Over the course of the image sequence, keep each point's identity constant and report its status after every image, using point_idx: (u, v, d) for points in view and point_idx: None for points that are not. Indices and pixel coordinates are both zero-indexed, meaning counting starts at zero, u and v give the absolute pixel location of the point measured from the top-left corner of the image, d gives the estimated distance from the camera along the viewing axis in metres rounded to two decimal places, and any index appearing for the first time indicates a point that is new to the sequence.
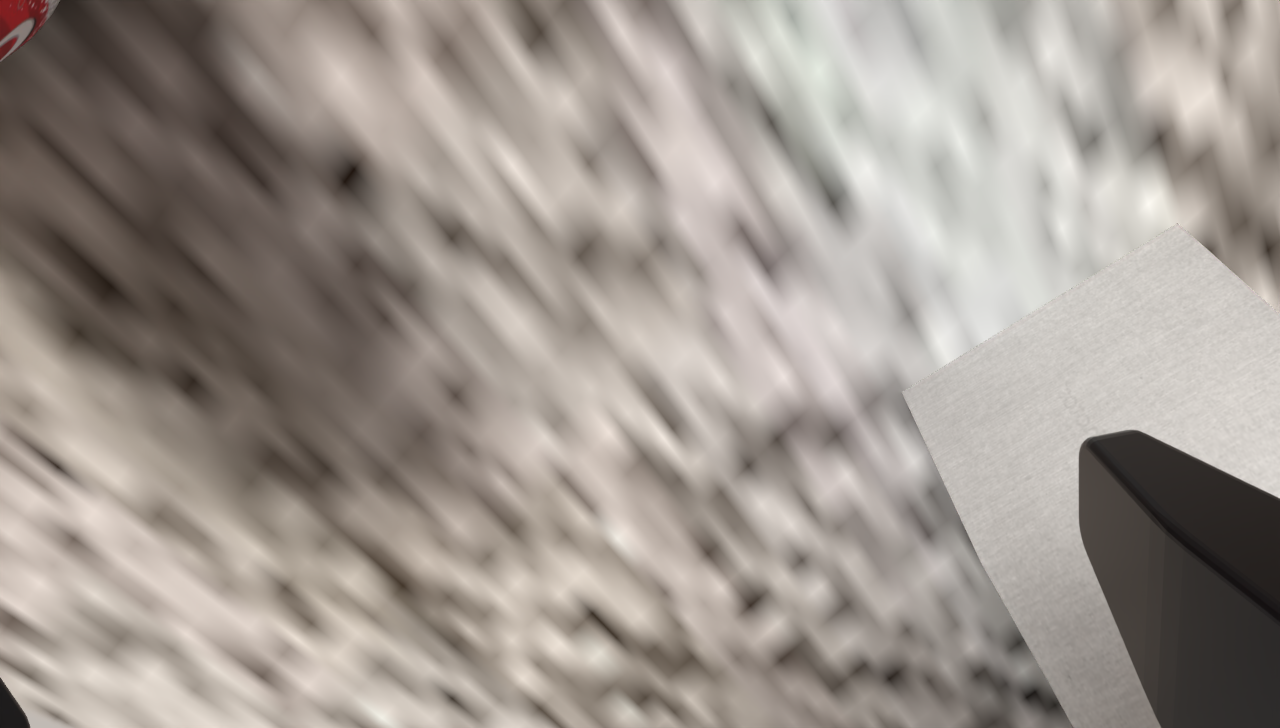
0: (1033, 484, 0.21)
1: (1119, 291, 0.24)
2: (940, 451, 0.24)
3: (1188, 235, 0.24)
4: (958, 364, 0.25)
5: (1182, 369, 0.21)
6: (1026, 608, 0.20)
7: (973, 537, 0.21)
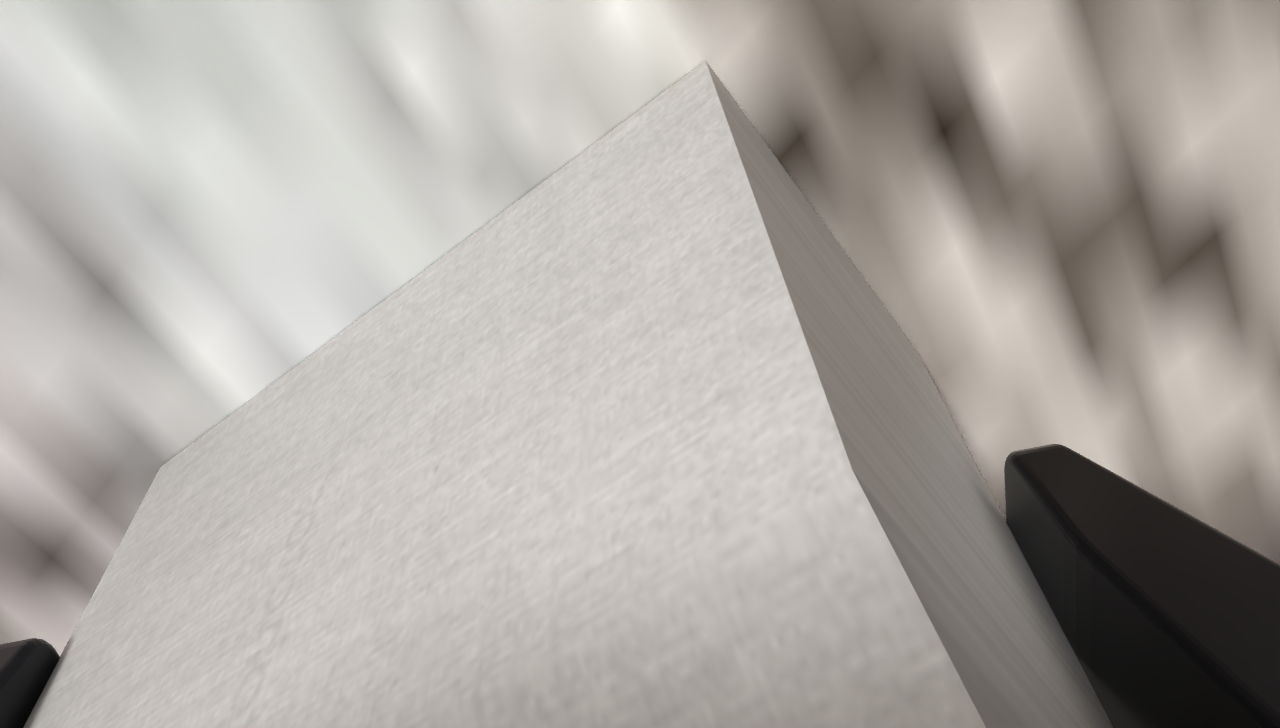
0: None
1: (538, 230, 0.09)
2: (79, 637, 0.09)
3: (708, 84, 0.09)
4: (252, 408, 0.11)
5: (512, 448, 0.07)
6: None
7: None
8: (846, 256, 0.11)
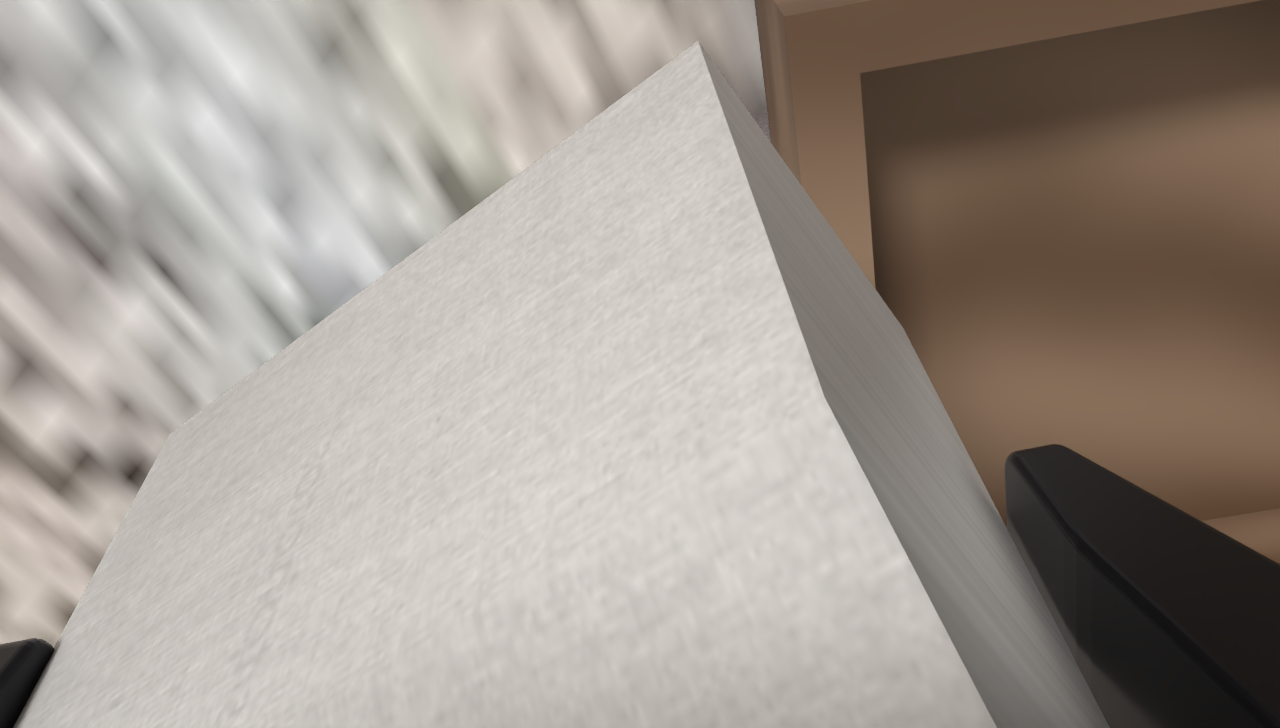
0: (108, 724, 0.07)
1: (536, 201, 0.10)
2: (93, 590, 0.10)
3: (700, 62, 0.10)
4: (259, 375, 0.11)
5: (510, 397, 0.07)
6: None
7: None
8: (833, 231, 0.11)
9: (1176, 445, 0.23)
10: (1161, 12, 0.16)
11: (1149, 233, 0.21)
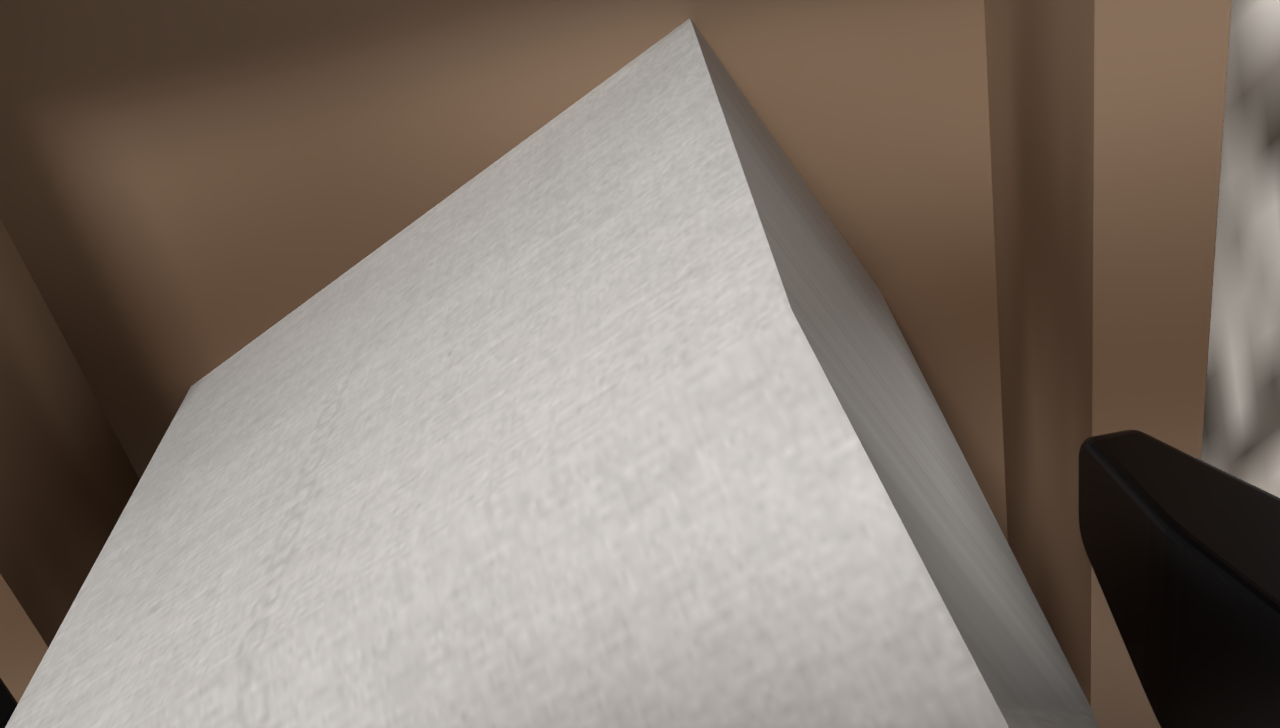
0: (148, 627, 0.08)
1: (539, 164, 0.10)
2: (125, 521, 0.10)
3: (691, 36, 0.10)
4: (277, 330, 0.12)
5: (517, 330, 0.08)
6: None
7: None
8: (815, 199, 0.12)
9: None
10: None
11: None
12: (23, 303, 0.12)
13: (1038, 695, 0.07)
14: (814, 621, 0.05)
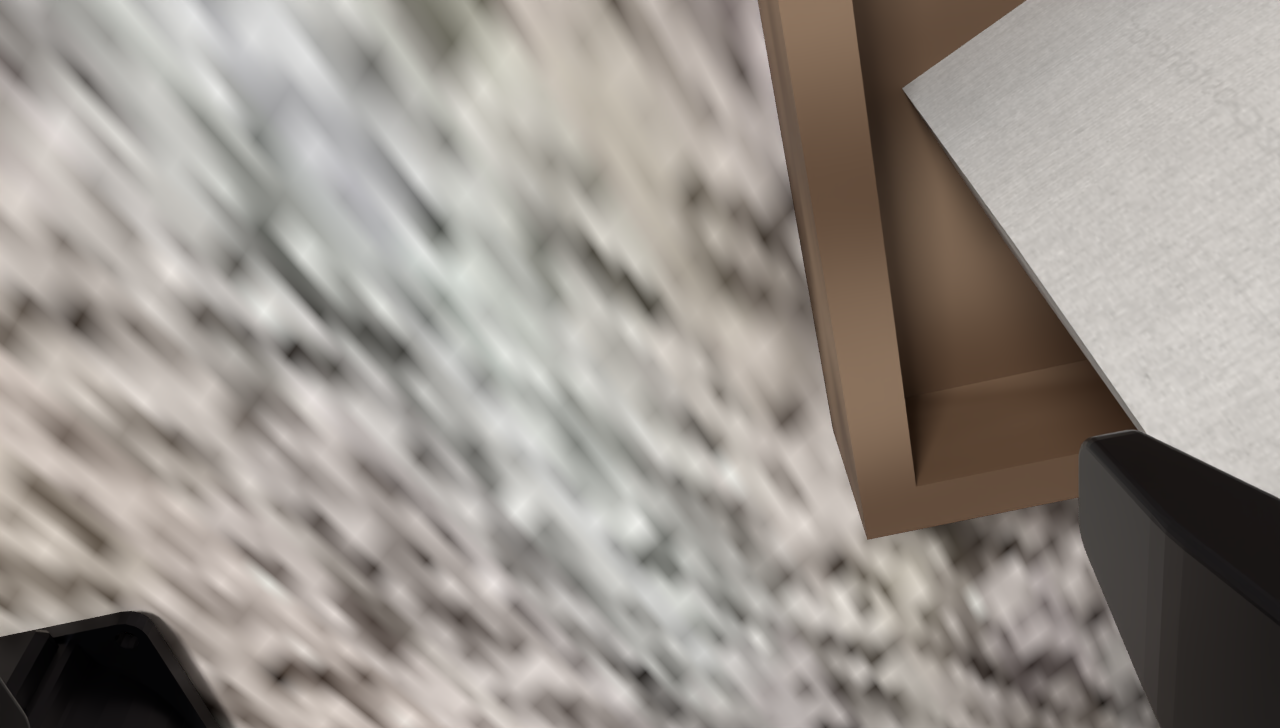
0: (1087, 135, 0.15)
1: None
2: (953, 133, 0.17)
3: None
4: (979, 41, 0.19)
5: None
6: (1078, 290, 0.14)
7: (1000, 213, 0.15)
8: None
9: None
10: None
11: None
12: None
13: None
14: None
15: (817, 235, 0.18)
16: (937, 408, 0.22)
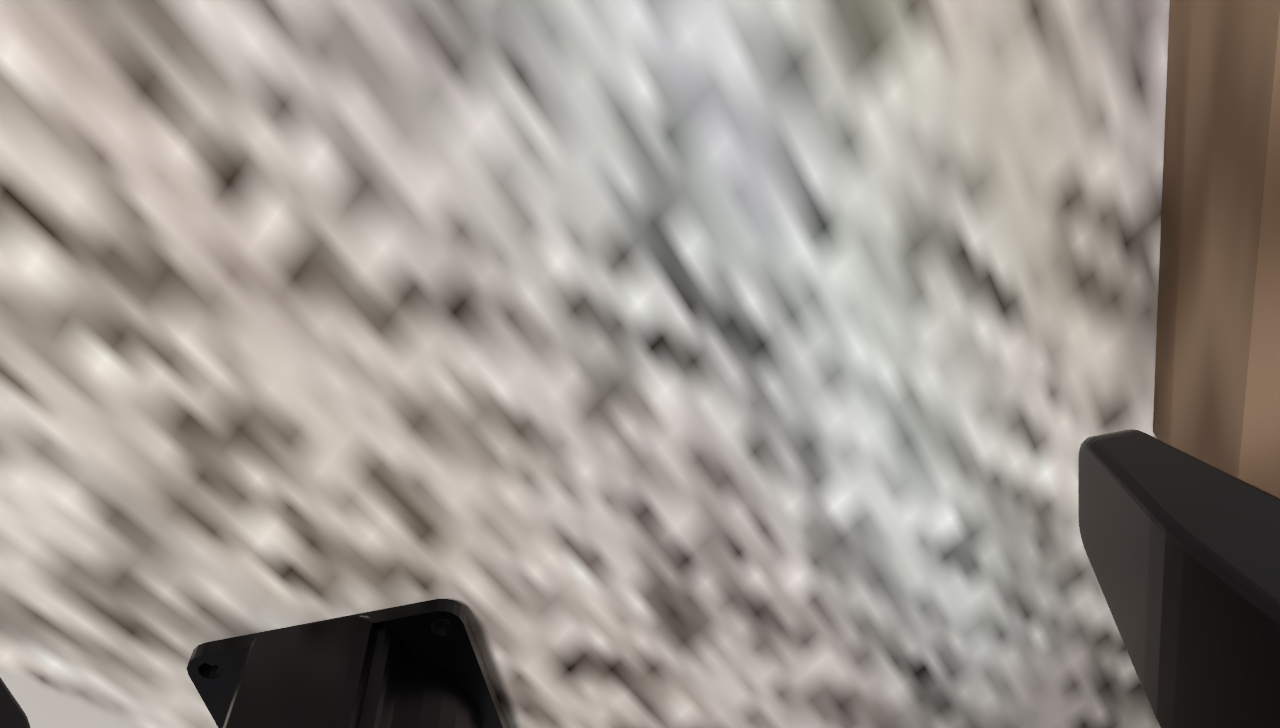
0: None
1: None
2: None
3: None
4: None
5: None
6: None
7: None
8: None
9: None
10: None
11: None
12: None
13: None
14: None
15: (1258, 237, 0.19)
16: None
